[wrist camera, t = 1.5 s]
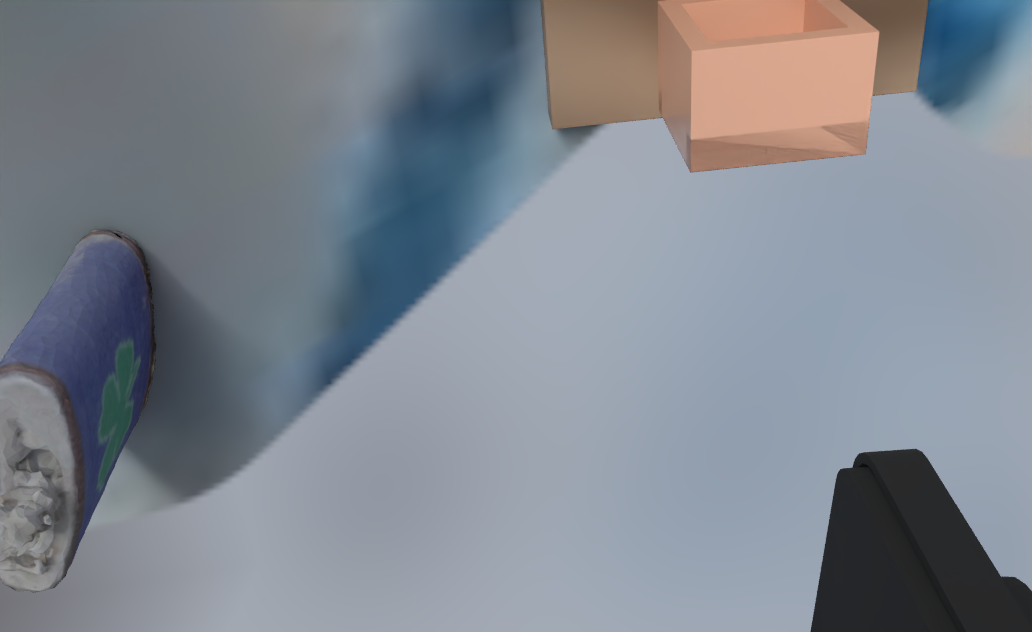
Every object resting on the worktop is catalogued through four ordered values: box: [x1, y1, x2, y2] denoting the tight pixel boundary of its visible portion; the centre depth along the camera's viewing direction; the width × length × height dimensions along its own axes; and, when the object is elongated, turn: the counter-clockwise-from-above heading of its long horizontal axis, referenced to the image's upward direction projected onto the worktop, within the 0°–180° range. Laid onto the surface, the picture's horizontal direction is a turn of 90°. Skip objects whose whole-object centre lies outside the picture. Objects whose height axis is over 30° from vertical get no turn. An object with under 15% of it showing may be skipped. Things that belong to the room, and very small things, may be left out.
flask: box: [0, 230, 156, 592], centre depth 33 cm, size 9×3×11 cm, turn 167°
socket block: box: [658, 0, 879, 172], centre depth 29 cm, size 4×5×5 cm
